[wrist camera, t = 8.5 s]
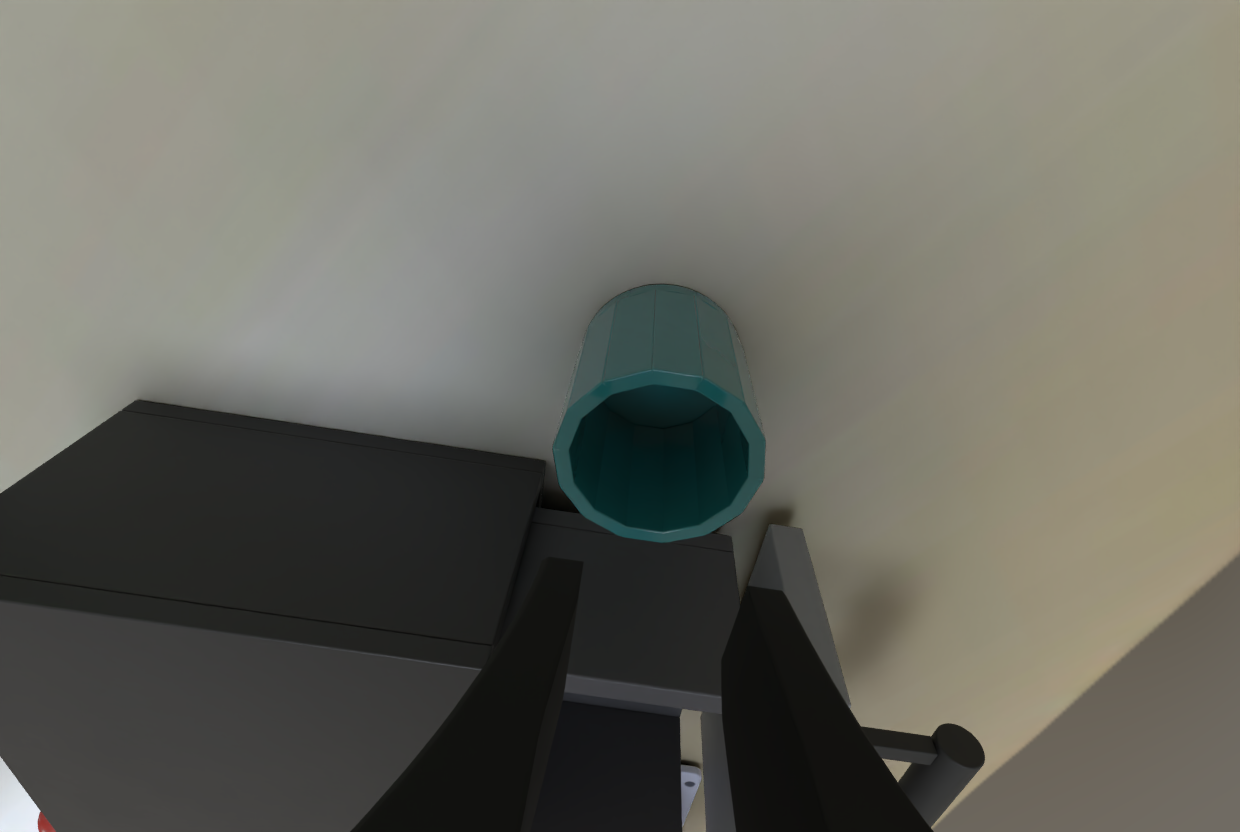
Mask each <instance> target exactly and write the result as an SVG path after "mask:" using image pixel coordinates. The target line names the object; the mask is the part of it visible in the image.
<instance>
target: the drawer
mask: <svg viewBox="0 0 1240 832" xmlns="http://www.w3.org/2000/svg"><path fill="white" fill-rule="evenodd" d="M547 557H556V558H563V559H569V560H576V561H583V562H584V563H583V570H582V577H581V584H580V591H579V597H578V604H577V611H576V618H575V625H574V631H573V638H572V645H571V651H570V658H569V664H568V671H567V677H566V684H565V690H564V697H563V701H562V705H561V709H560V713H559V717H558V721H557V725H556V730H555V734H554V738H553V742H552V746H551V750H550V754H549V758H548V762H547V766H546V770H545V774H544V779H543V783H542V787H541V791H540V795H539V799H538V803H537V807H536V811H535V815H534V819H533V823H532V827H531V832H682V798H681V749H680V718H679V717H680V714H681V711H682V709H688V710H695V711H702V715H701V735H702V755H703V775H704V794H705V814H706V832H736V828H735V820H734V812H733V804H732V796H731V789H730V781H729V773H728V765H727V757H726V749H725V740H724V732H723V723H722V698H721V659H722V656H723V653H724V650H725V648H726V645H727V642H728V639H729V636H730V634H731V631H732V628H733V625H734V622H735V620H736V617H737V614H738V611H739V608H740V599H739V592H738V584H737V576H736V569H735V561H734V554H733V545H732V537H731V536H727V535H720V534H713V533H709V534H706V535H705V536H700V537H695V538H689V539H684V540H679V541H674V542H668V543H658V542H651V541H644V540H637V539H631V538H624V537H621V536H618V535H616V534H614V533H612V532H610V531H609V530H607V529H605V528H603V527H601V526H599V525H597V524H596V523H594V522H592V521H590V520H588V519H586V518H585V517H584V516H582V514H578V513H571V512H564V511H558V510H551V509H544V508H537V507H535V511H534V514H533V518H532V522H531V525H530V529H529V532H528V536H527V540H526V543H525V547H524V550H523V554H522V558H521V561H520V565H519V569H518V572H517V576H516V579H515V583H514V587H513V590H512V594H511V598H510V601H509V605H508V608H507V612H506V616H505V619H504V623H503V626H502V630H501V634H500V637H499V641H498V643H499V642H500V640H501V639H502V637H503V635H504V634H505V632H506V631H507V629H508V627H509V626H510V624H511V623H512V621H513V619H514V617H515V616H516V614H517V612H518V610H519V608H520V607H521V605H522V603H523V601H524V599H525V597H526V596H527V594H528V592H529V590H530V588H531V586H532V583H533V581H534V579H535V577H536V575H537V572H538V570H539V567H540V564H541V562H542V560H543V559H545V558H547ZM748 586H754V587H761V588H768V589H775V590H782V591H783V592H784V594H785V595H786V596H787V598H788V600H789V602H790V604H791V606H792V608H793V610H794V611H795V613H796V615H797V617H798V619H799V621H800V623H801V625H802V627H803V628H804V630H805V632H806V634H807V636H808V638H809V639H810V641H811V643H812V645H813V647H814V648H815V650H816V652H817V654H818V656H819V657H820V659H821V661H822V663H823V665H824V666H825V668H826V670H827V672H828V673H829V675H830V677H831V678H832V680H833V682H834V684H835V685H836V687H837V689H838V690H839V692H840V693H841V695H842V697H843V698H844V700H845V702H846V703H847V705H848V707H849V708H850V707H851V703H850V699H849V695H848V692H847V688H846V685H845V681H844V677H843V674H842V670H841V666H840V663H839V659H838V656H837V652H836V648H835V645H834V641H833V638H832V634H831V630H830V627H829V623H828V619H827V616H826V612H825V609H824V605H823V601H822V598H821V594H820V590H819V587H818V583H817V580H816V576H815V572H814V569H813V565H812V562H811V558H810V554H809V551H808V547H807V543H806V540H805V536H804V533H803V529H801V528H795V527H788V526H781V525H774V524H770V525H769V527H768V530H767V533H766V536H765V538H764V541H763V544H762V547H761V550H760V552H759V555H758V558H757V561H756V564H755V566H754V569H753V572H752V575H751V578H750V580H749V583H748ZM861 728H862V729H863V731H864V732H865V734H866V736H867V737H868V739H869V740H870V742H871V743H872V745H873V746H874V748H875V749H876V751H877V752H878V754H879V755H880V757H881V758H883V759H890V760H897V761H904V762H911V763H912V764H911V765H910V767H909V768H908V769H907V771H906V772H905V773H904V775H903V776H902V778H901V779H900V780H899V782H898V783H899V785H900V786H901V788H902V789H903V791H904V792H905V793H906V795H907V796H908V798H909V799H910V800H911V802H912V803H913V805H914V806H915V807H916V809H917V810H918V812H919V813H920V814H921V816H922V817H923V818H924V820H925V821H926V822H927V824H928V825H929V826H930V828H931V827H932V825H933V824H934V823H935V822H936V821H937V819H938V818H939V817H940V816H941V815H942V813H943V812H944V811H945V810H946V809H947V808H948V806H949V805H950V804H951V803H952V802H953V800H954V799H955V798H956V797H957V796H958V794H959V793H960V792H961V791H962V790H963V789H964V787H965V786H966V785H967V784H968V783H969V781H970V780H971V779H972V778H973V777H974V775H975V774H976V773H977V772H978V771H979V770H980V768H981V767H982V766H983V764H984V761H985V754H984V751H983V748H982V746H981V744H980V743H979V741H978V740H977V739H976V738H975V737H974V736H973V735H972V734H971V733H970V732H969V731H967V730H966V729H964V728H962V727H961V726H958V725H955V724H949V723H948V724H942V725H940V726H939V727H938V728H937V729H936V731H935V732H934V733H933V735H932V736H931V737H930V736H925V735H918V734H911V733H904V732H897V731H889V730H882V729H875V728H868V727H861Z"/></svg>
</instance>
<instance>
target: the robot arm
mask: <svg viewBox="0 0 1240 832" xmlns="http://www.w3.org/2000/svg"><path fill="white" fill-rule="evenodd" d="M583 563H584V562H583V561H576V560H569V559H563V558H556V557H547V558H545V559H543V560H542V562H541V564H540V567H539V570H538V572H537V575H536V577H535V579H534V581H533V583H532V586H531V588H530V590H529V592H528V594H527V596H526V597H525V599H524V601H523V603H522V605H521V607H520V608H519V610H518V612H517V614H516V616H515V617H514V619H513V621H512V623H511V624H510V626H509V627H508V629H507V631H506V632H505V634H504V635H503V637H502V639H501V640H500V642H499V643H498V645H497V647H496V648H495V650H494V652H493V653H492V655H491V656H490V658H489V659H488V661H487V662H486V664H485V665H484V667H483V668H482V670H481V671H480V673H479V674H478V675H477V677H476V678H475V680H474V681H473V682H472V684H471V685H470V687H469V688H468V689H467V691H466V692H465V694H464V695H463V696H462V698H461V699H460V701H459V702H458V704H457V705H456V706H455V708H454V709H453V710H452V712H451V713H450V714H449V716H448V717H447V718H446V720H445V721H444V722H443V724H442V725H441V726H440V727H439V729H438V730H437V731H436V733H435V734H434V735H433V736H432V738H431V739H430V740H429V741H428V743H427V744H426V745H425V746H424V748H423V749H422V750H421V751H420V752H419V754H418V755H417V756H416V757H415V759H414V760H413V761H412V762H411V763H410V765H409V766H408V767H407V768H406V769H405V771H404V772H403V773H402V774H401V775H400V776H399V777H398V779H397V780H396V781H395V782H394V783H393V784H392V785H391V787H390V788H389V789H388V790H387V791H386V792H385V793H384V795H383V796H382V797H381V798H380V799H379V800H378V801H377V803H376V804H375V805H374V806H373V807H372V808H371V809H370V811H369V812H368V813H367V814H366V815H365V816H364V817H363V818H362V819H361V820H360V821H359V823H358V824H357V825H356V826H355V827H354V828H353V829H352V830H351V831H350V832H531V827H532V823H533V819H534V815H535V811H536V807H537V803H538V799H539V795H540V791H541V787H542V783H543V779H544V774H545V770H546V766H547V762H548V758H549V754H550V750H551V746H552V742H553V738H554V734H555V730H556V725H557V721H558V717H559V713H560V709H561V705H562V701H563V697H564V690H565V684H566V677H567V671H568V664H569V658H570V651H571V645H572V638H573V631H574V625H575V618H576V611H577V604H578V597H579V591H580V584H581V577H582V570H583ZM721 698H722V723H723V732H724V740H725V749H726V757H727V765H728V773H729V781H730V789H731V796H732V804H733V812H734V820H735V828H736V832H933V830H932V829H931V828H930V826H929V825H928V824H927V822H926V821H925V820H924V818H923V817H922V816H921V814H920V813H919V812H918V810H917V809H916V807H915V806H914V805H913V803H912V802H911V800H910V799H909V798H908V796H907V795H906V793H905V792H904V791H903V789H902V788H901V786H900V785H899V783H898V782H897V781H896V779H895V778H894V776H893V775H892V773H891V772H890V770H889V769H888V767H887V766H886V764H885V763H884V761H883V760H882V758H881V757H880V755H879V754H878V752H877V751H876V749H875V748H874V746H873V745H872V743H871V742H870V740H869V739H868V737H867V736H866V734H865V732H864V731H863V729H862V728H861V726H860V725H859V723H858V721H857V720H856V718H855V717H854V715H853V713H852V712H851V710H850V708H849V707H848V705H847V703H846V702H845V700H844V698H843V697H842V695H841V693H840V692H839V690H838V689H837V687H836V685H835V684H834V682H833V680H832V678H831V677H830V675H829V673H828V672H827V670H826V668H825V666H824V665H823V663H822V661H821V659H820V657H819V656H818V654H817V652H816V650H815V648H814V647H813V645H812V643H811V641H810V639H809V638H808V636H807V634H806V632H805V630H804V628H803V627H802V625H801V623H800V621H799V619H798V617H797V615H796V613H795V611H794V610H793V608H792V606H791V604H790V602H789V600H788V598H787V596H786V595H785V594H784V592H783V591H782V590H775V589H768V588H761V587H754V586H747V589H746V592H745V594H744V597H743V600H742V603H741V606H740V608H739V611H738V614H737V617H736V620H735V622H734V625H733V628H732V631H731V634H730V636H729V639H728V642H727V645H726V648H725V650H724V653H723V656H722V659H721ZM701 779H702V776H701V770H700V769H699V768H697V767H695V766H689V765H681V798H682V827H683V825H684V822H685V820H686V817H687V815H688V812H689V810H690V807H691V805H692V802H693V800H694V797H695V795H696V792H697V790H698V787H699V784H700V782H701Z"/></svg>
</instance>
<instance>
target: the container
mask: <svg viewBox="0 0 1240 832" xmlns="http://www.w3.org/2000/svg"><path fill="white" fill-rule="evenodd" d="M552 450H553V456H554V461H555V467H556V473H557V478H558V484H559V485H560V488H561V489H562V490H563V492H564V493H565V494H566V495H567V497H568V498H569V499H570V500H571V502H572V503H573V504H574V506H575V507H576V508H577V509H578V511H579V512H580V513H581V514H582V516H584V517H585V518H586V519H588V520H590V521H592V522H594V523H596V524H597V525H599V526H601V527H603V528H605V529H607V530H609V531H610V532H612V533H614V534H616V535H618V536H621V537H624V538H631V539H637V540H644V541H651V542H658V543H668V542H674V541H679V540H684V539H689V538H695V537H700V536H705V535H706V534H709V533H711V532H713V531H714V530H716V529H717V528H719V527H721V526H722V525H724V524H726V523H727V522H729V521H730V520H732V519H734V518H735V517H737V516H738V515H740V514H741V513H742V512H743V511H744V510H745V508H746V507H747V505H748V503H749V502H750V500H751V499H752V497H753V496H754V494H755V493H756V491H757V490H758V488H759V487H760V485H761V483H762V482H763V479H764V474H765V451H766V439H765V435H764V431H763V427H762V423H761V419H760V415H759V411H758V407H757V403H756V399H755V395H754V391H753V387H752V382H751V378H750V374H749V370H748V366H747V362H746V358H745V354H744V350H743V347H742V345H741V343H740V341H739V338H738V335H737V332H736V330H735V327H734V325H733V324H732V322H731V320H730V319H729V317H728V316H727V315H726V314H725V312H724V311H723V310H722V309H721V308H720V307H719V306H718V305H717V304H716V303H715V302H713V301H712V300H710V299H709V298H707V297H706V296H704V295H702V294H700V293H698V292H696V291H694V290H691V289H688V288H685V287H680V286H676V285H666V284H658V285H647V286H641V287H638V288H635V289H631V290H629V291H627V292H624V293H622V294H620V295H618V296H617V297H615V298H614V299H612V300H611V301H609V302H608V303H607V304H606V305H604V306H603V307H602V308H601V309H600V310H599V312H598V313H597V314H596V315H595V316H594V318H593V319H592V321H591V322H590V324H589V326H588V328H587V330H586V333H585V335H584V338H583V342H582V345H581V348H580V350H579V353H578V356H577V359H576V363H575V366H574V370H573V374H572V377H571V381H570V385H569V388H568V392H567V395H566V399H565V403H564V406H563V410H562V414H561V417H560V421H559V424H558V428H557V432H556V435H555V439H554V443H553V448H552Z"/></svg>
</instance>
